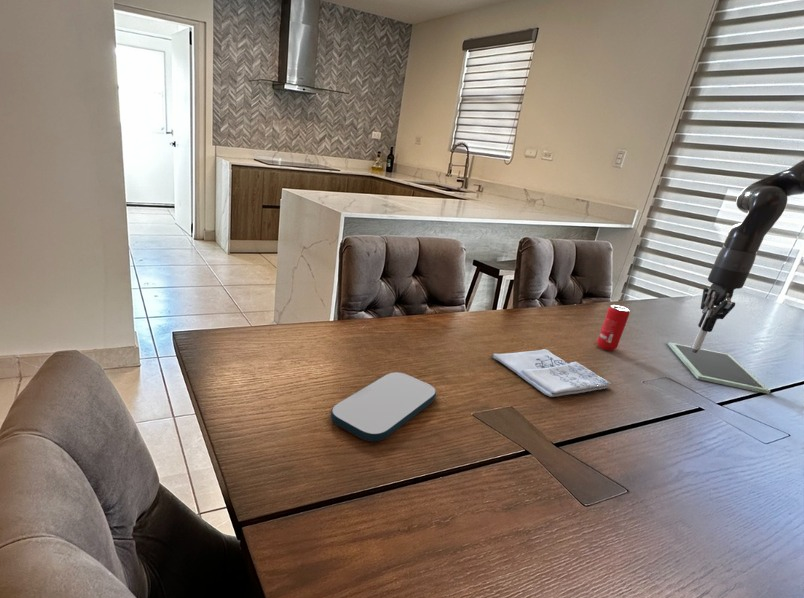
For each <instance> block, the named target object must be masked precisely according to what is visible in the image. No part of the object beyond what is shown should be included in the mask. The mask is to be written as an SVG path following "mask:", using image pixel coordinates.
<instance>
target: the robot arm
mask: <svg viewBox="0 0 804 598" xmlns="http://www.w3.org/2000/svg"><path fill="white" fill-rule="evenodd" d="M798 195H804V159H803V160H800V161H799V162H797V163H795V164H794V165H792V166H791V167H789V168H787V169H785V170H782V171H780V172H776V173H773V174H772V175H769V176H766V177H764V178H762V179H759V180H756V181H755V182H753V183H751V184H750V185H748V186H746V187H745V188H744V189H743V190H742V191H741V192H740V193H739V194H738V195H737V198H736V201H735V202H736V207H737V209H738V210H739V211H741V212H742V213H745V214H746V216H745V217H744V219H743V220H742V222H740V223H736V224H734V225H732V226H731V228H730V229H729V231H728V233H727V236H726V237H725V239H724V243H723V245H722V247H721V249H720V250H719V252H718V254H717V256H716V258H715V261H714V263H713V265H712V267H711V270H710V272H709V275H708V277H707V281H708V282H709V283H711V284H710V286H709V288H707V287H704V288H703V291H702V296H701V302H700V310H702V311H701V313H702V315H701V317H700V319H699V322H698V324H697V327H698V328H700V327H701V325H702V323H703V321H704V318H705V316H706V314H707V311H708V310H709V312H708V315H707V317H706V319H705V322H704V324H703V326H702V330H703V331H707V333H711V332H712V331H713V329H714V327H715V325H716V323H717V321H718V320H723V319H725V317H726V316H727V315H728V314H729V313H730V312H731V311H732V310H733V309H734V308H735V306H736V302H734V301H732V299H733V296H734V291H735V290H736V289H737V290H738V289H743V287H744V285H745V283H746V281H747V279H748V277H749V274H750V272H751V270H752V269H753V266H754V264H755V261H756V258H757V255H758V251H759V250H760V247H761V245H762V243H763V241H764V238H765V236H766V235H767V234H768V233H769V232H770V231H771V229H772V228H773V227H774V226H775V224H776V223H777V221H779V219H780V218H781V216H782V215H783V214H784V212H785V210H786V209H787V206H788V201H789V197H791V196H798ZM713 311H714V312H713Z"/></svg>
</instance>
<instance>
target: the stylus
mask: <svg viewBox="0 0 804 598" xmlns="http://www.w3.org/2000/svg"><path fill="white" fill-rule="evenodd" d="M708 312H709V310H708V311H707V314H706V316H705V318H704V321H703V323H702V325H701V327H699V330H698V332H697V334H696V337H695V339H694V341H693V344H692V346H691V347H692V350H691V352H693V353H697V352H698V350H700V348H701V347H702V345H703V343H704V341H705V338H706V336H707V335H708V332H707V331H703V330H702V326H703V324H704V322H705V319H706V317H707V315H708ZM713 312H714V311H713ZM701 349H702V348H701Z"/></svg>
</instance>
